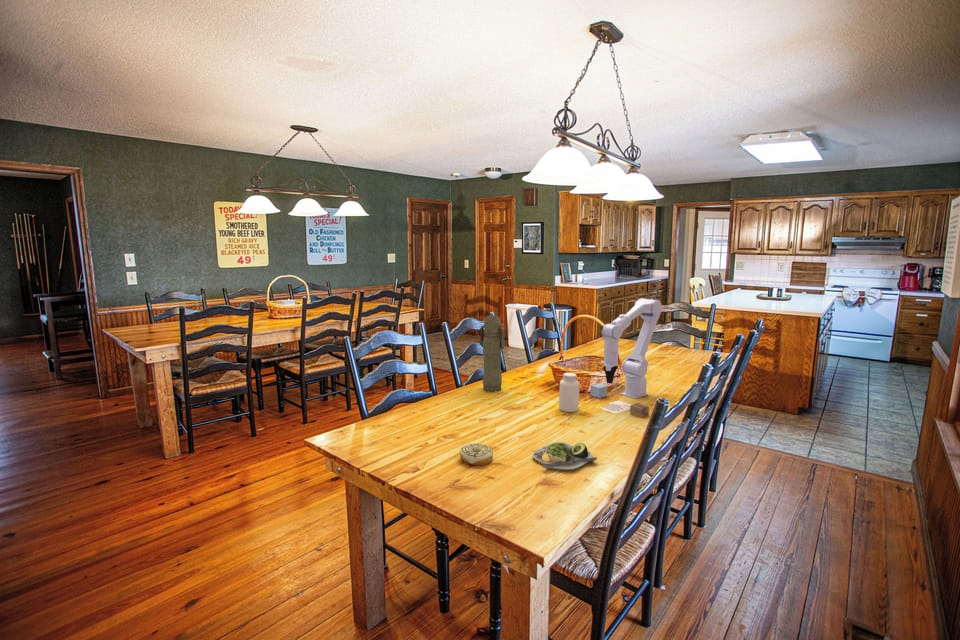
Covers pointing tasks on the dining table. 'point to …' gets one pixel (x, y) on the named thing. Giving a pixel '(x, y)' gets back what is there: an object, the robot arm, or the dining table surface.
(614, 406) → the letter
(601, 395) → the slate cube
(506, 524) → the dining table surface
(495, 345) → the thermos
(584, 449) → the salad plate
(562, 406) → the pill bottle
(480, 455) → the decorated donut
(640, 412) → the walnut block
